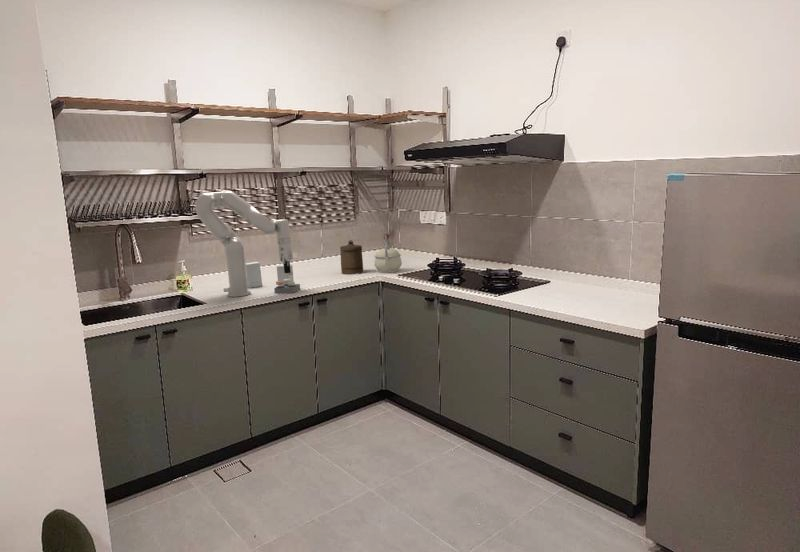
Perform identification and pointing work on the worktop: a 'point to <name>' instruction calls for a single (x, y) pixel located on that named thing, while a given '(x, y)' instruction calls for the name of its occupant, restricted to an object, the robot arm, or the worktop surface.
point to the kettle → (387, 259)
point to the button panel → (287, 288)
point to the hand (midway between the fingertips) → (287, 272)
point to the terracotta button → (279, 282)
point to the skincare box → (253, 274)
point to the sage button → (291, 283)
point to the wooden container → (351, 258)
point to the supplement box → (284, 274)
